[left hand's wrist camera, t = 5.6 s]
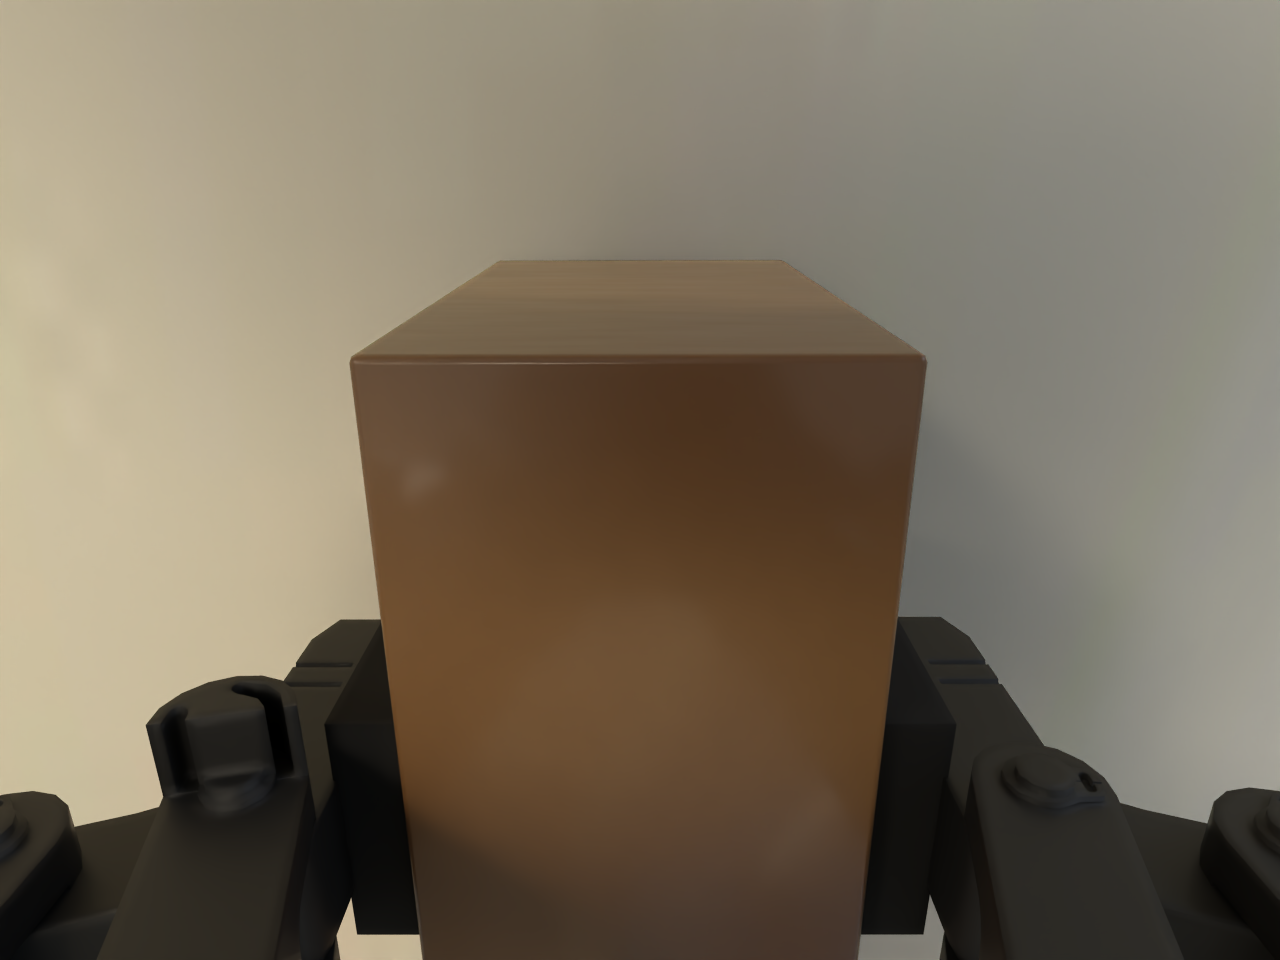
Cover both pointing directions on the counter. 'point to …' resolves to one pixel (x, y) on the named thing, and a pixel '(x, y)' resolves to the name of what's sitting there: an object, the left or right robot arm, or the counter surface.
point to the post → (639, 604)
